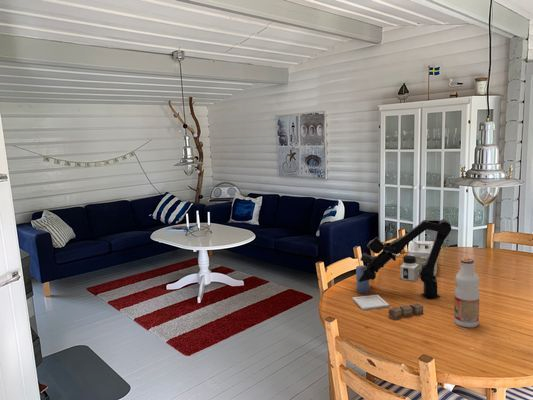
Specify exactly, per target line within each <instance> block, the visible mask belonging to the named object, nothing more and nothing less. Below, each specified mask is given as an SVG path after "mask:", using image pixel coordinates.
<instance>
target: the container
mask: <svg viewBox="0 0 533 400" xmlns="http://www.w3.org/2000/svg"><path fill="white" fill-rule="evenodd" d="M402 258H403V259H402V260H403V263H402V264H401V265H400V279H401V280H404V281H405V280H406V281H411V282H415V281H417V279H418V278H420V275H419V265H418V264H416V257H415V256H413V255H408V254H405V255H403V257H402Z"/></svg>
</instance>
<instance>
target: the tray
mask: <svg viewBox="0 0 533 400" xmlns="http://www.w3.org/2000/svg"><path fill="white" fill-rule="evenodd" d="M352 301H353V302H354V303H355V305H357V307H359V308H360V309H361V310H362V311H369V310H377V309H386V308H390V304H389V303H388V302H387V301H386V300H384V299H383V298H382V297H381V296H380V295H379V294H370V295H363V296H361V295H360V296H355V297H353V296H352Z"/></svg>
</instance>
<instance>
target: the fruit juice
mask: <svg viewBox="0 0 533 400" xmlns="http://www.w3.org/2000/svg"><path fill="white" fill-rule="evenodd" d="M460 264H461V265H460V269H459V271H458V272H457V273H456V275H455V277H454V282H455V288H454V302H453V303H454V306H453V307H454V309H453V311H454V313H453V315H454V317H453V318H454V319H453V320H454V323H455V324H457V325H458V326H460V327H462V328H463V327H464V328H469V329H470V328H476V327H478V325H479V323H480V290H479V284H480V278H479V275H478V274H477V273H476V271H475V269H474V264H475V260H474V258H469V257H462V258H461V259H460Z"/></svg>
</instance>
